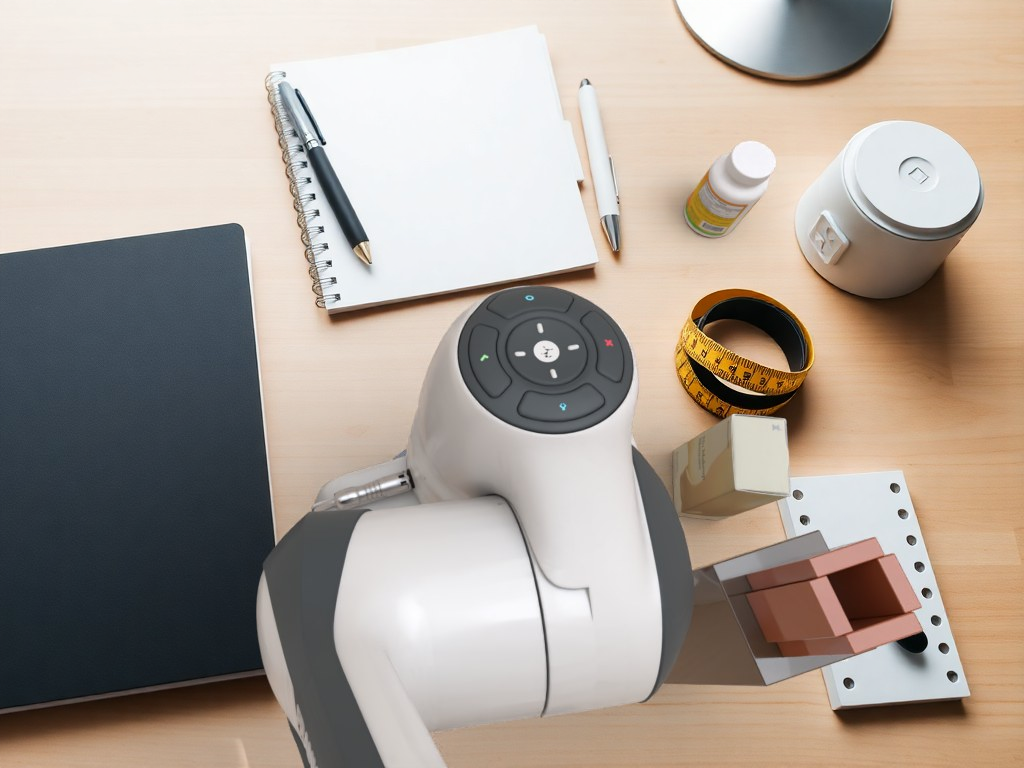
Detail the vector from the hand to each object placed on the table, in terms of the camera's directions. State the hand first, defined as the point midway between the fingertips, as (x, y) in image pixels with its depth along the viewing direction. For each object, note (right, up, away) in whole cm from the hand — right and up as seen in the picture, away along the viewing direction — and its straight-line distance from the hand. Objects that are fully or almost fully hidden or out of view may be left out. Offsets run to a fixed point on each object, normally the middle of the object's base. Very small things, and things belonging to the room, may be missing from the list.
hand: (455, 502), depth 60 cm
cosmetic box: (+23, -1, +14) cm, 27 cm away
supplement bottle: (+29, +26, +23) cm, 45 cm away
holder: (+18, -12, +10) cm, 23 cm away
